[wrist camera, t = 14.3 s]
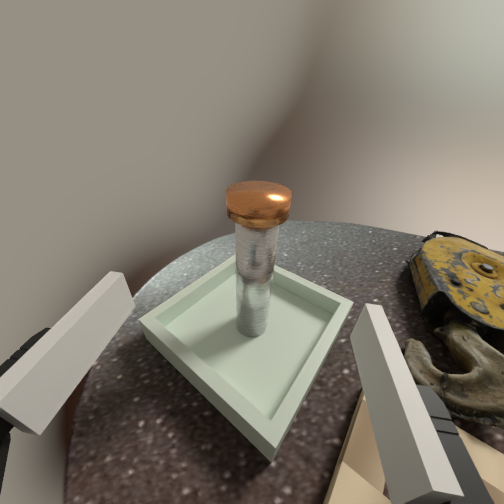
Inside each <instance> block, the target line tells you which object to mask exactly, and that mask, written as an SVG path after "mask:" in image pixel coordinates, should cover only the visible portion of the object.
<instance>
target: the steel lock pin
mask: <svg viewBox="0 0 504 504" xmlns="http://www.w3.org/2000/svg"><path fill="white" fill-rule="evenodd" d="M291 196H292V192H291V191H290V190H289V189H288V188H287V187H285V186H283V185H280V184H277V183H272V182H266V181H245V182H239V183H236V184H233V185H231V186H229V187H228V188H227V190H226V203H227V216H228V217H229V219H231V220H232V221H234V222H235V224H236V326H237V329H238V331H239V332H240V333H241V334H242V335H244V336H246V337H258V336H260V335H262V334H263V333H264V332H265V331H266V329H267V325H268V316H269V308H270V299H271V290H272V282H273V273H274V264H275V256H276V247H277V238H278V230H279V225H280V224H282V223H284V222H285V221H287V219H288V216H289V210H290V203H291Z"/></svg>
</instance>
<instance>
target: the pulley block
mask: <svg viewBox="0 0 504 504" xmlns="http://www.w3.org/2000/svg"><path fill="white" fill-rule="evenodd" d="M436 234H439V235H443V237H439V238H436ZM422 241H423V242H424V244H423V246H422V248H420V249H419V250H418V252H417V253H415V254H414V256H413V257H411V259H410V261H409V262H408V261H406V262H407V263H408V264H409V265H408V266H409V267H410V271H411V273H412V277H413V281H412V282H413V283H414V284H415V287H416V291H417V294H418V298H419V302H420V307H421V312H422V315H423V317H424V319H425V322H426V325H427V330H428V331H429V332H431V333H433V334H435V335H436V337H437V338H438V339H440V340H441V341H442V342H444V343H445V345H446V346H447V348H448V349H449V351H450V353H451V355H452V357H453V359H454V361H455V363H456V365H457V366H458V367H459V368H460V369H461V370H462V371H463V372H464V373H465V374H463V375H458V374H448V373H444V372H441V371H440V370H438V369H437V368H436V367H435V366H433V363H432V360H431V357H430V355H429V353H428V351H427V350H426V348H425V346H424V344H423V343H421V342H420V341H417V340H414V339H409V340H407V341H406V343H405V353H404V359H405V361H406V364H407V366H408V368H409V370H410V373H411V375H412V377H413V380H414V382H415V384H416V385H423V386H429V387H431V388H432V389H433V390H434V392H435V393H436V394H437V395H438V396H439V398H440V399H441V400H442V401H443V403H444V405H445V407H446V409H447V411H448V413H449V415H450V416H451V417H455V418H458V419H462V420H466V421H471V422H476V423H479V424H482V425H485V426H495V427H497V428H499V429H501V430H502V429H504V355H503V354H501V353H500V352H498V351H497V349H500V348H504V257H503V256H501V255H499V254H496V253H494V252H492V251H490V250H488V248H487V247H485V246H483V245H481V244H478V243H476V242H474V241H471V240H469V239H467V238H465V237H462V236H458V235H454V234H451V233H447V232H438V231H434V232H433V233H432V234H430V235H428V236H427V237H426V238H425V239H423V240H422ZM422 241H421V242H422ZM410 281H411V280H410Z"/></svg>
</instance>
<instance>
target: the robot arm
mask: <svg viewBox="0 0 504 504" xmlns="http://www.w3.org/2000/svg"><path fill="white" fill-rule="evenodd" d="M134 308H135V304H134V301H133V299H132V296H131V294H130V291H129V288H128V286H127V283H126V280H125V278H124V275H123V273H118V272H109V273H108V274H107V275H106V276H105V277H104V278H103V279H102V280H101V281H100V282H99V283H98V284H97V285H96V286H95V287H94V288H93V289H92V290H90V291H89V292H88V293H87V294H86V295H85V296H84V297H83V298H82V299H81V300H80V301H79V302H78V303H77V304H76V305H75V306H74V307H73V308H72V309H71V310H70V311H69V312H68V313H67V314H66V315H64V316H63V317H62V318H61V319H60V320H59V321H58V322H57V323H56V324H55V325H54V326H53V327H52V328H45V329H43V330H42V331H40V332H39V333H37V334H35V335H34V336H32V337H31V338H30V339H29V340H28V341H27V342H26V343H25V344H24V345H22V346H21V347H20V349H19V350H17V351H16V352H15V353H14V354H13V355H12V356H11V357H10V359H7V360H6V361H5V362H4V363H3V364H2V365H1V366H0V493H1V488H2V482H3V477H4V472H5V466H6V461H7V455H8V450H9V444H10V440H11V439H10V433H9V432H10V430H11V429H12V428H13V427H16V428H17V429H19V430H20V431H22V432H25V433H30V434H35V435H41V433H42V432H43V431H44V429H45V428H46V427H47V425H48V424H49V423H50V421H51V420H52V419H53V417H54V416H55V415H56V413H57V412H58V411H59V409H60V408H61V407H62V405H63V404H64V403H65V401H66V400H67V398H68V397H69V396H70V394H71V393H72V392H73V390H74V389H75V388H76V386H77V385H78V384H79V382H80V381H81V379H82V378H83V377H84V376H85V374H86V373H87V371H88V370H89V369H90V367H91V366H92V365H93V363H94V362H95V361H96V359H97V358H98V357H99V355H100V354H101V353H102V351H103V350H104V349H105V347H106V346H107V344H108V343H109V342H110V340H111V339H112V338H113V336H114V335H115V334H116V332H117V331H118V330H119V328H120V327H121V326H122V324H123V323H124V321H125V320H126V319H127V317H128V316H129V315H130V313H131V312H132V311H133V309H134ZM350 339H351V343H352V347H353V351H354V355H355V359H356V363H357V367H358V371H359V375H360V379H361V383H362V387H363V391H364V395H365V399H366V403H367V407H368V411H369V415H370V419H371V423H372V427H373V431H374V435H375V439H376V443H377V447H378V451H379V456H380V460H381V464H382V468H383V472H384V476H385V480H386V484H387V488H388V492H389V496H390V500H391V504H495V503H494V501H493V500H492V498H491V496H490V494H489V492H488V490H487V488H486V486H485V484H484V482H483V480H482V478H481V476H480V474H479V472H478V470H477V468H476V466H475V464H474V462H473V460H472V458H471V456H470V454H469V452H468V451H467V449H466V447H465V445H464V443H463V441H462V439H461V437H459V433H458V431H457V429H456V427H455V425H454V423H453V422H452V419H451V417H450V415H449V413H448V411H447V409H446V407H445V405H444V403H443V401H442V400H441V399H440V398H439V396H438V395H437V394H436V393H435V392H434V390H433V389H432V388H431V387H429V386H423V385H416V384H415V382H414V380H413V377H412V375H411V373H410V370H409V368H408V366H407V364H406V361H405V359H404V357H403V354H402V352H401V350H400V347H399V345H398V343H397V341H396V338H395V336H394V334H393V331H392V329H391V327H390V324H389V322H388V320H387V318H386V315H385V313H384V311H383V308H382V306H381V305H373V304H365V305H364V308H363V310H362V312H361V314H360V316H359V318H358V320H357V323H356V325H355V327H354V329H353V331H352V333H351V336H350Z"/></svg>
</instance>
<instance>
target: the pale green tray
mask: <svg viewBox="0 0 504 504" xmlns="http://www.w3.org/2000/svg"><path fill="white" fill-rule="evenodd" d="M353 303H354V302H352V301H350V300H348V299H346V298H344V297H342V296H339V295H337V294H335V293H333V292H331V291H329V290H327V289H325V288H322V287H320V286H318V285H316V284H314V283H312V282H310V281H308V280H306V279H303V278H301V277H299V276H297V275H295V274H293V273H291V272H289V271H287V270H284V269H282V268H280V267H278V266H276V265H274V273H273V282H272V290H271V299H270V308H269V316H268V325H267V329H266V331H265V332H264V333H263V334H262V335H260V336H258V337H246V336H244V335H242V334H241V333H240V332H239V331H238V329H237V326H236V254H235V255H233V256H232V257H230V258H229V259H227V260H226V261H225V262H223V263H222V264H220V265H219V266H217V267H216V268H214V269H213V270H211V271H210V272H208V273H207V274H205V275H204V276H202V277H201V278H199V279H198V280H196V281H195V282H193V283H192V284H190V285H189V286H187V287H186V288H184V289H183V290H181V291H180V292H178V293H177V294H175V295H174V296H172V297H171V298H169V299H168V300H166V301H165V302H163V303H162V304H160V305H159V306H157V307H156V308H155V309H153V310H152V311H150V312H149V313H147V314H146V315H144V316H143V317H141V318H140V319H138V320H139V322H140V325H141V327H142V330H143V333H144V335H145V338H146V339H147V340H148V341H149V342H150V343H151V344H152V345H153V346H154V347H155V348H156V349H157V350H158V351H159V352H160V353H161V354H162V355H163V356H164V357H165V358H166V359H167V360H168V361H169V362H170V363H171V364H172V365H173V366H174V367H175V368H176V369H177V370H178V371H179V372H180V373H181V374H182V375H183V376H184V377H185V378H186V379H187V380H188V381H189V382H190V383H191V384H192V385H193V386H194V387H195V388H196V389H197V390H198V391H199V392H200V393H201V394H202V395H203V396H204V397H205V398H206V399H207V400H208V401H209V402H210V403H211V404H212V405H213V406H214V407H215V408H216V409H217V410H218V411H220V412H221V413H222V414H223V415H224V416H225V417H226V418H227V419H228V420H229V421H230V422H231V423H232V424H233V425H234V426H235V427H236V428H237V429H238V430H239V431H240V432H241V433H242V434H243V435H244V436H245V437H246V438H247V439H248V440H249V441H250V442H251V443H252V444H253V445H254V446H255V447H256V448H257V449H258V450H259V451H260V452H261V453H262V454H263V455H264V456H265V457H266V458H267V459H268V460H269V461H270V462H271V463H272V461H273V459H274V457H275V456H276V454H277V452H278V450H279V448H280V446H281V444H282V442H283V440H284V438H285V436H286V434H287V433H288V431H289V429H290V427H291V425H292V423H293V421H294V419H295V417H296V415H297V413H298V412H299V410H300V408H301V406H302V404H303V402H304V400H305V398H306V396H307V394H308V392H309V390H310V389H311V387H312V385H313V383H314V381H315V379H316V377H317V375H318V373H319V371H320V369H321V367H322V366H323V364H324V362H325V360H326V358H327V356H328V354H329V352H330V350H331V348H332V346H333V344H334V343H335V341H336V339H337V337H338V335H339V333H340V331H341V329H342V327H343V325H344V323H345V321H346V319H347V317H348V314H349V312H350V310H351V307H352V305H353Z"/></svg>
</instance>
